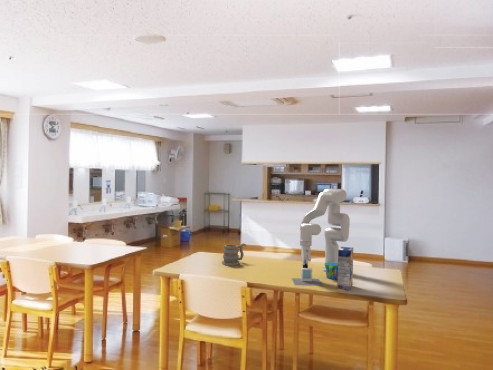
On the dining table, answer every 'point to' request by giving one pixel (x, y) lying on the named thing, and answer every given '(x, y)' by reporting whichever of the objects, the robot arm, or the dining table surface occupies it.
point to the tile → (306, 274)
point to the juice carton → (345, 268)
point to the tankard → (232, 254)
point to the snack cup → (331, 270)
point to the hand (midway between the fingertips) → (305, 271)
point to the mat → (307, 282)
